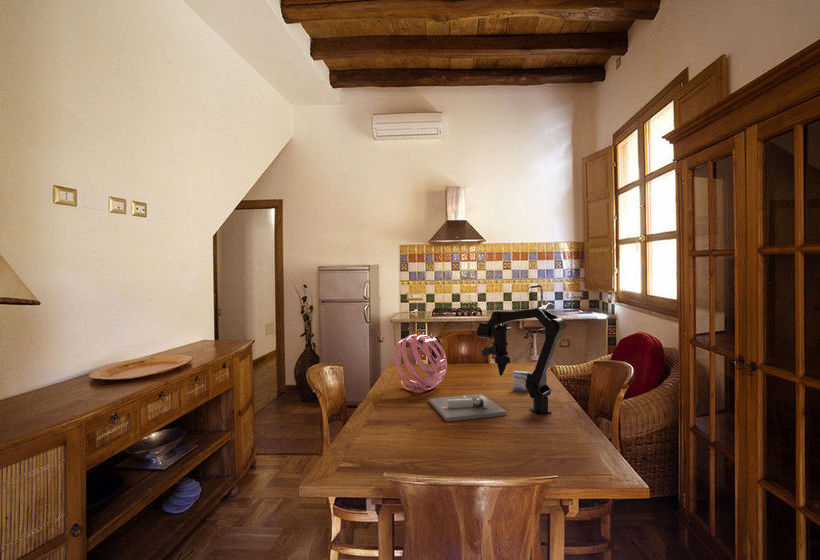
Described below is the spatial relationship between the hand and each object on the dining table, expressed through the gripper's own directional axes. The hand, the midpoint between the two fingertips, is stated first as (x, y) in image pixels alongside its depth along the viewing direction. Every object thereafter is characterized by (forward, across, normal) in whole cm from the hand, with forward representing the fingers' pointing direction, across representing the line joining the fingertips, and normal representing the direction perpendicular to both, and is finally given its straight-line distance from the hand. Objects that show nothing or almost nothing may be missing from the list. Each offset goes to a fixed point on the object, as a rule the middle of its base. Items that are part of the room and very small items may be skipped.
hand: (500, 375), depth 185 cm
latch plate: (+12, +8, -16) cm, 21 cm away
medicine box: (+12, -20, +12) cm, 27 cm away
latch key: (+10, +11, -15) cm, 21 cm away
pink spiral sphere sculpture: (+12, -19, -36) cm, 43 cm away
